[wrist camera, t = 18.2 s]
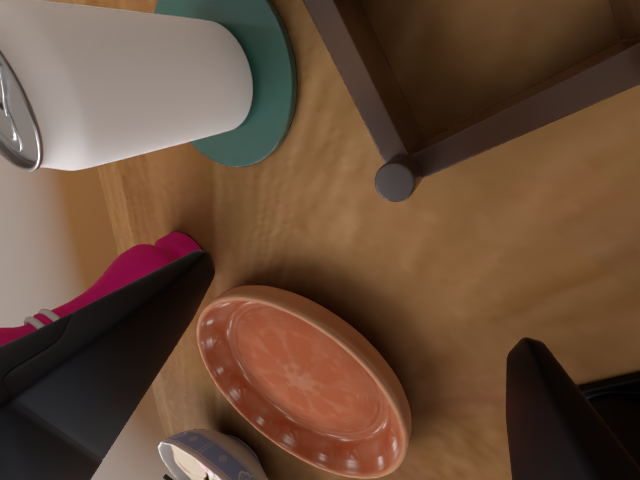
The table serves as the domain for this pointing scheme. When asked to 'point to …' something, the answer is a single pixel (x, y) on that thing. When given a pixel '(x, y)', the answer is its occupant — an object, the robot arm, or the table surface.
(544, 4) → the table surface
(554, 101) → the rack
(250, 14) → the coaster
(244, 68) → the can
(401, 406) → the saucer
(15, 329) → the pepper mill
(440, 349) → the table surface
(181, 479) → the ramen bowl
